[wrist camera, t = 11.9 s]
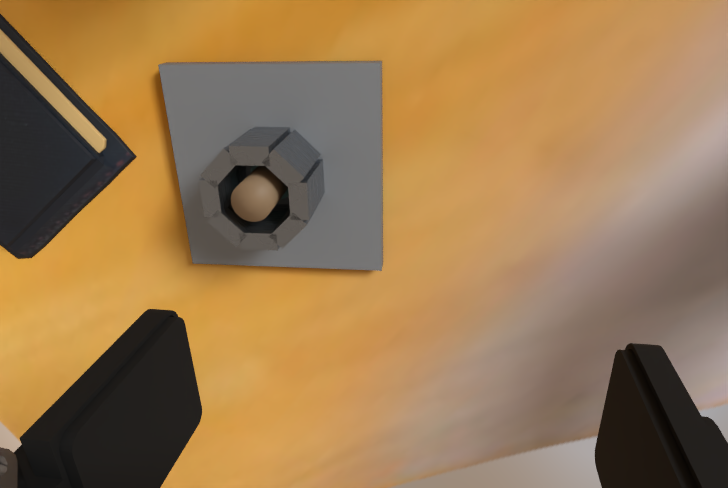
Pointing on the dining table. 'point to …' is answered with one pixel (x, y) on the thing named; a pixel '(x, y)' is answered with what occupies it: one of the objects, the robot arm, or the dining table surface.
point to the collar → (285, 160)
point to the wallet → (46, 149)
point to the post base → (317, 119)
